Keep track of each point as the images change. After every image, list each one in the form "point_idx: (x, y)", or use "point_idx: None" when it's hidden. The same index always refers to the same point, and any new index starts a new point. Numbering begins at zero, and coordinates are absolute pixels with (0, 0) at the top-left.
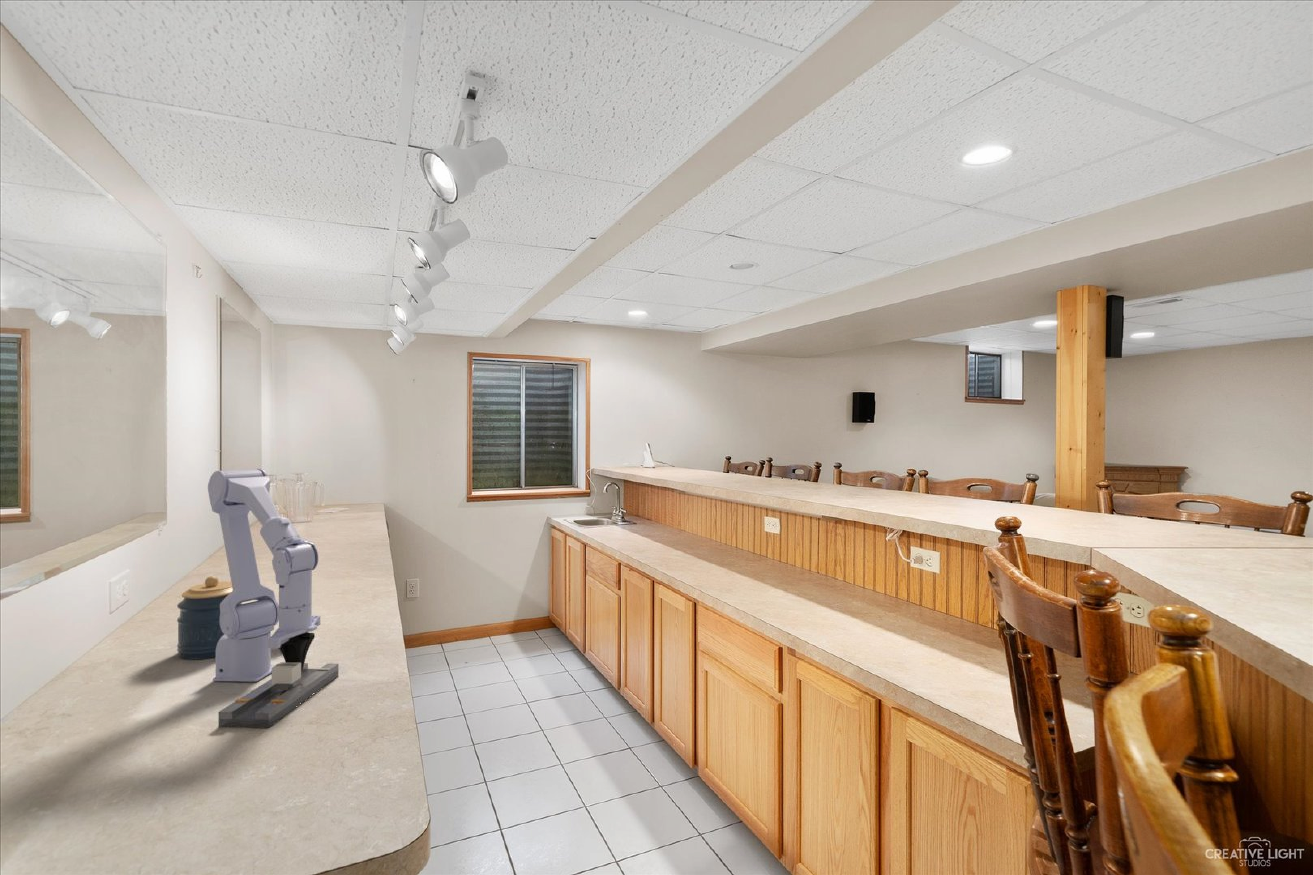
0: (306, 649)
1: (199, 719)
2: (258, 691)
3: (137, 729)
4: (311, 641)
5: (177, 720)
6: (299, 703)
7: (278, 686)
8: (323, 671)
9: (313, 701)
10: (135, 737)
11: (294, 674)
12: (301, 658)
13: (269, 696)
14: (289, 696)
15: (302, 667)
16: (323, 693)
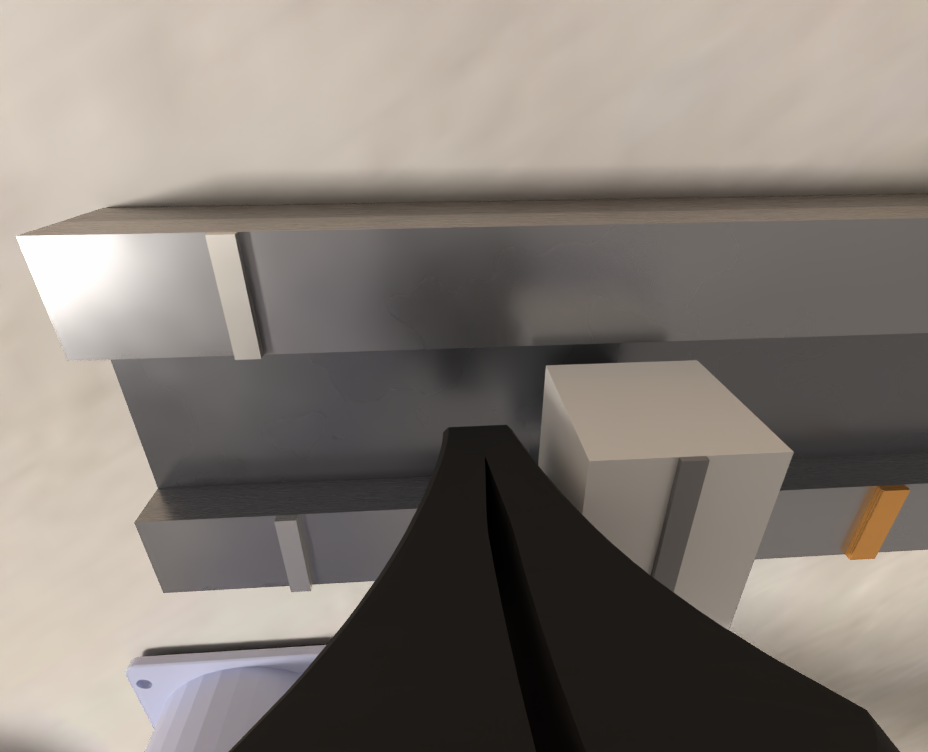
0: (455, 583)
1: (795, 600)
2: None
3: None
4: (325, 685)
5: (781, 659)
6: (726, 199)
7: None
8: (278, 275)
9: (660, 116)
10: (905, 681)
11: (687, 399)
12: (540, 508)
13: None
14: (902, 242)
15: (460, 441)
16: (492, 123)
